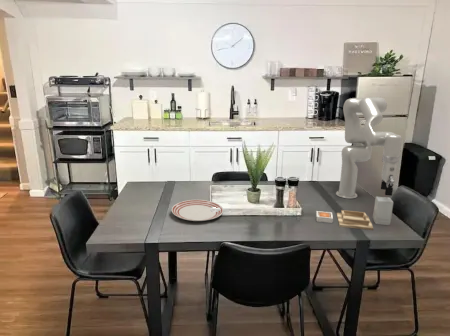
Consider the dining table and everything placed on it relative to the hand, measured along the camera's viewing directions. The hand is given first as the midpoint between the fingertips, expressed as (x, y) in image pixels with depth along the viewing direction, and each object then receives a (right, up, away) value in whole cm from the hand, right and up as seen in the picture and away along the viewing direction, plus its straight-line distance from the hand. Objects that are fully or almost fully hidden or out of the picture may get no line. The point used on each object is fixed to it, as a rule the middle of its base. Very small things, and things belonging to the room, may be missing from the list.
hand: (386, 192), depth 183 cm
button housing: (-30, -15, +7) cm, 34 cm away
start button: (-30, -14, +6) cm, 33 cm away
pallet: (-15, -16, +4) cm, 22 cm away
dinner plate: (-96, -13, +10) cm, 98 cm away
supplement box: (0, -16, +5) cm, 17 cm away
